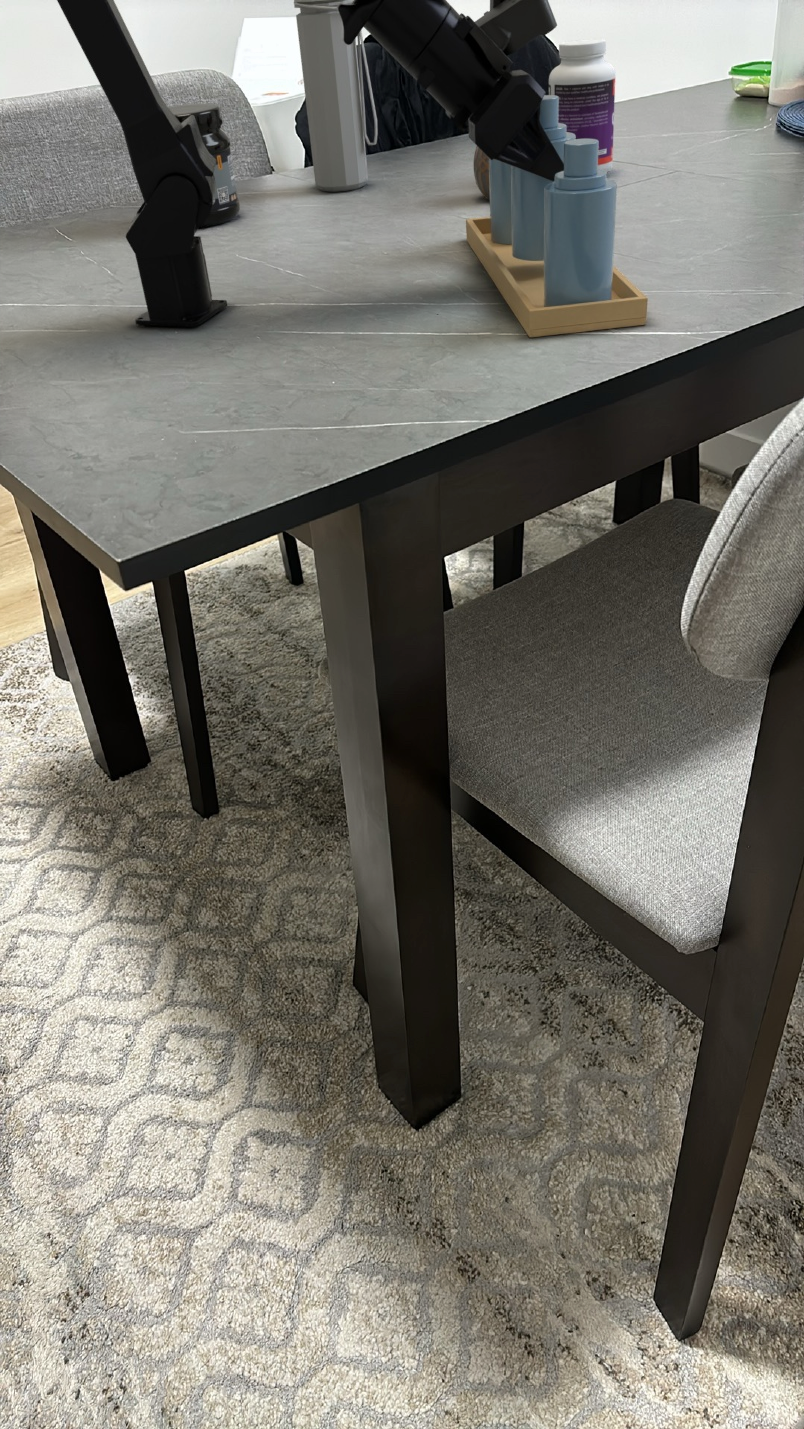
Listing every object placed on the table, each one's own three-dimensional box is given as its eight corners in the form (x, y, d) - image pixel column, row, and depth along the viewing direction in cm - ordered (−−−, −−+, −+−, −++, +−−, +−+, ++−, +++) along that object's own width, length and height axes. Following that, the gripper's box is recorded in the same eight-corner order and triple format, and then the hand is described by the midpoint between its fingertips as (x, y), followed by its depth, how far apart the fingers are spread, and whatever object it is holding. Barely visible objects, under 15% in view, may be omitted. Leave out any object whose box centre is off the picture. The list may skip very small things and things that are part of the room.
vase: (536, 190, 127) (536, 108, 122) (526, 202, 122) (525, 118, 117) (481, 191, 129) (478, 111, 124) (469, 204, 124) (466, 121, 118)
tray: (646, 324, 84) (648, 297, 82) (529, 337, 83) (529, 311, 82) (555, 230, 110) (555, 209, 109) (466, 240, 110) (465, 219, 109)
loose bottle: (518, 263, 93) (517, 104, 86) (506, 249, 98) (504, 96, 90) (579, 257, 94) (584, 98, 86) (564, 242, 98) (567, 90, 90)
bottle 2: (619, 316, 84) (627, 143, 76) (551, 323, 84) (553, 151, 76) (601, 297, 89) (607, 132, 81) (537, 304, 88) (537, 139, 81)
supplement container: (142, 223, 129) (118, 114, 122) (214, 206, 134) (196, 100, 127) (182, 235, 123) (160, 120, 115) (257, 216, 127) (241, 105, 120)
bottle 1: (550, 241, 105) (551, 99, 97) (495, 247, 105) (492, 105, 97) (538, 228, 109) (539, 92, 102) (486, 234, 109) (483, 98, 101)
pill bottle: (624, 175, 130) (630, 39, 121) (567, 184, 128) (570, 47, 119) (591, 166, 136) (595, 36, 127) (537, 175, 134) (537, 44, 125)
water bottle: (306, 194, 136) (278, -40, 121) (326, 181, 142) (302, -44, 127) (372, 193, 133) (352, -47, 118) (390, 180, 139) (373, -50, 124)
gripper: (517, -55, 74) (656, 106, 81) (476, -57, 89) (597, 80, 96) (415, 83, 78) (556, 225, 86) (392, 60, 93) (514, 182, 100)
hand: (557, 172), depth 92 cm, fingers closed on loose bottle, 5 cm apart
